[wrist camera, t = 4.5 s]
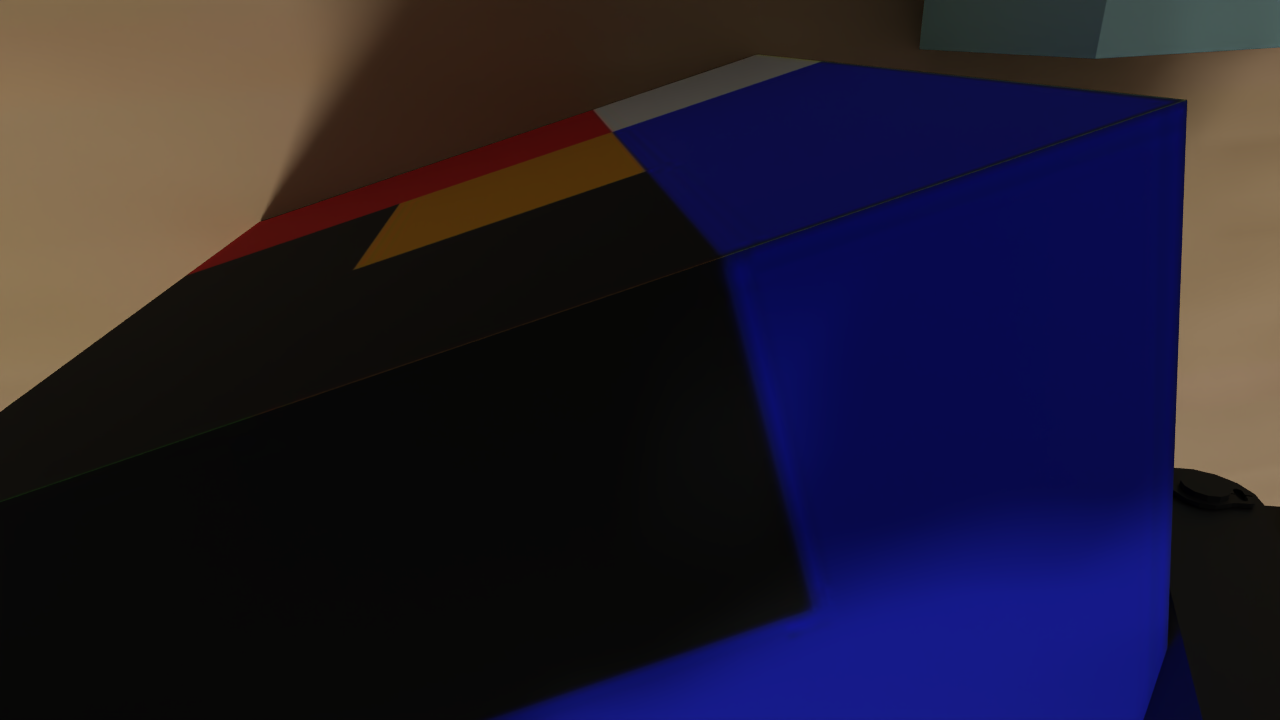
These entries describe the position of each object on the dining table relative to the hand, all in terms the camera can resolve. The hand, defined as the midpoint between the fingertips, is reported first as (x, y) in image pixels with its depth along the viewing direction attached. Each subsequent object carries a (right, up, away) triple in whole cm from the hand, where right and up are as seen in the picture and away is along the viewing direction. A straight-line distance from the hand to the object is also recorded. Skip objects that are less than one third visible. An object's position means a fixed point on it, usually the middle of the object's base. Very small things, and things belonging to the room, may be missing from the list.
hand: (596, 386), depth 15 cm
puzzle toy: (0, +1, +1) cm, 1 cm away
